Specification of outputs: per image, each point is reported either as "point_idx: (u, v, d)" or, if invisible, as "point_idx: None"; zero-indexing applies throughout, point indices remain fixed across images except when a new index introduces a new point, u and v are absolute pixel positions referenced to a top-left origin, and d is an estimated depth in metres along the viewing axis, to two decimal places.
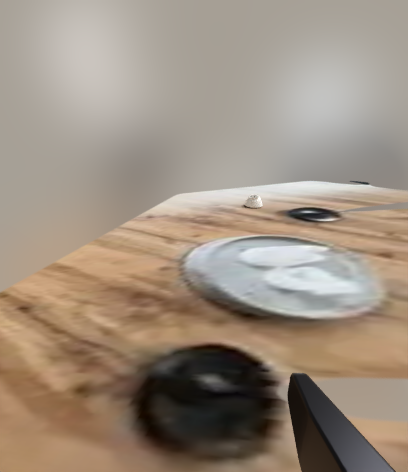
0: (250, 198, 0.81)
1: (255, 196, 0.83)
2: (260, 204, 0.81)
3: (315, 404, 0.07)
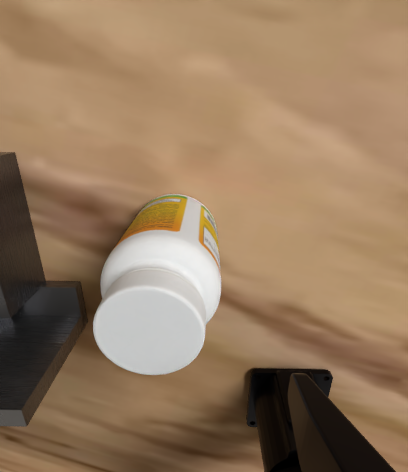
0: None
1: None
2: None
3: (315, 404, 0.07)
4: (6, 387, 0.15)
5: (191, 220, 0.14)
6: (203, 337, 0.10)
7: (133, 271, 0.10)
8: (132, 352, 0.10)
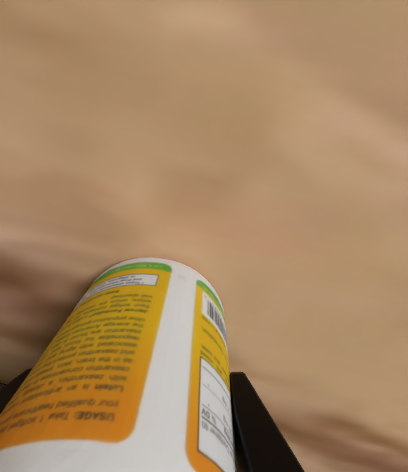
0: None
1: None
2: None
3: (243, 402, 0.07)
4: None
5: (173, 353, 0.06)
6: None
7: None
8: None
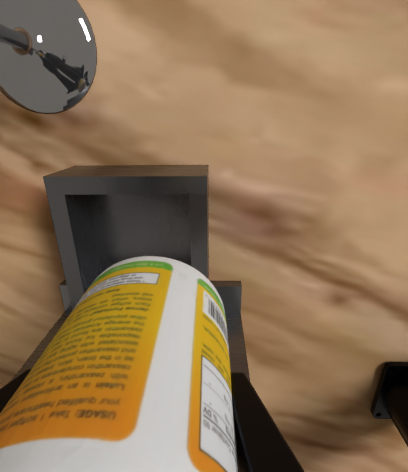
0: None
1: None
2: None
3: (243, 402, 0.07)
4: None
5: (174, 352, 0.06)
6: None
7: None
8: None
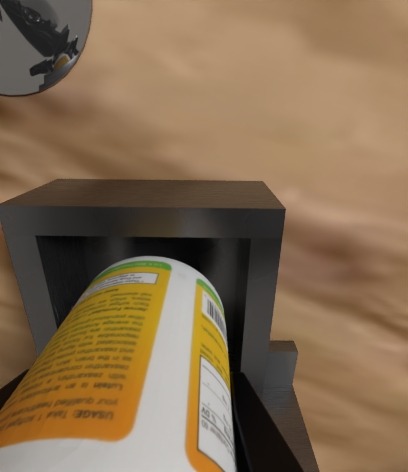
0: None
1: None
2: None
3: (243, 403, 0.07)
4: None
5: (173, 352, 0.06)
6: None
7: None
8: None
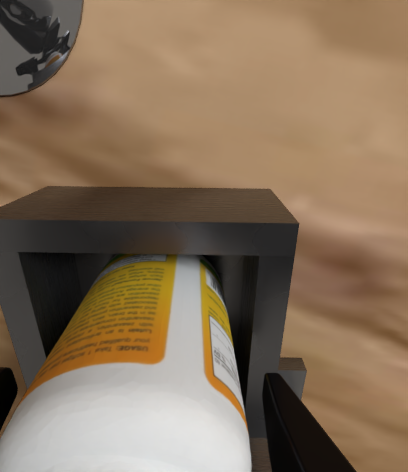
0: None
1: None
2: None
3: (284, 403, 0.07)
4: None
5: (187, 310, 0.08)
6: None
7: None
8: None
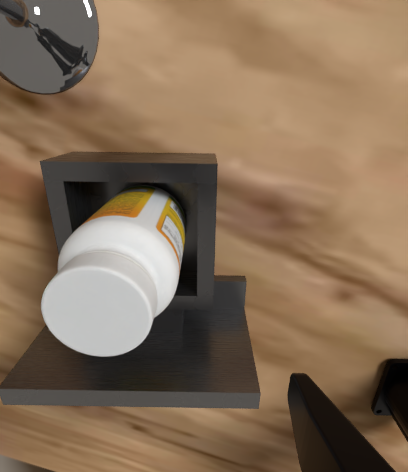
0: None
1: None
2: None
3: (315, 404, 0.07)
4: (229, 373, 0.16)
5: (153, 209, 0.14)
6: (151, 319, 0.10)
7: (83, 253, 0.11)
8: (81, 333, 0.11)
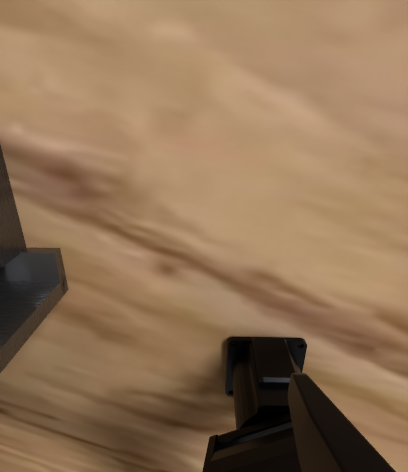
0: None
1: None
2: None
3: (315, 404, 0.07)
4: None
5: None
6: None
7: None
8: None
